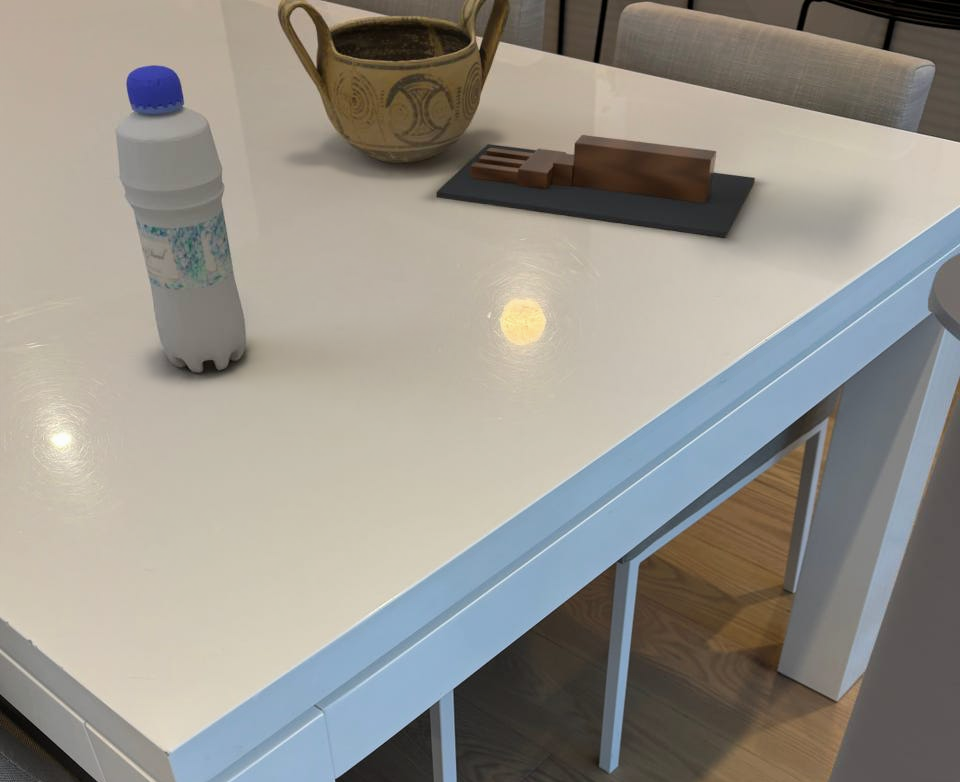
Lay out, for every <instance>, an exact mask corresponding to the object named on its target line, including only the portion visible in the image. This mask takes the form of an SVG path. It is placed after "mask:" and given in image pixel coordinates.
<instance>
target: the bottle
mask: <svg viewBox="0 0 960 782" xmlns="http://www.w3.org/2000/svg"><path fill="white" fill-rule="evenodd" d="M125 84H126V92H127V97H128V101H129V104H130V107H131V110H132V112H131V113H129V114H128V115H127V116H125V117H123V119H121V120H120V121H119V122H117V124H116V127H115V140H116V149H117V158H118V172H119V180H120V182H121V184H122V187H123V189H124V199H125V200H126V202H127V203H128V204H129V205H130V207H131V209H132V210H133V214H134V220H135V223H136V228H137V232H138V237H139V241H140V246H141V249H142V255H143V259H144V264H145V269H146V272H147V276H148V280H149V284H150V290H151V297H152V304H153V311H154V316H155V322H156V328H157V333H158V337H159V340H160V344H161V346H162V349H163V351H164V353H165V355H166V358H168V360H169V361H170V362H171V364H173V365H174V366H175V367H178V368H185V367H186V366H187V367H188V368H189V370H190V371H191V372H193V373H197V374H199V373H202V372H203V371H204V365H203V364H204V363H203V362H205V361H213V363H214V366H215V369H216V370H218V371H222V370H224V369H226V368H227V367H228V365H229V363H230V360H231V361H238V360H240V359H241V358H242V356H243V354H244V352H245V349H246V344H247V343H246V342H247V341H246V340H247V339H246V338H247V337H246V336H247V334H246V331H247V329H246V321H245V315H244V310H243V307H242V302H241V298H240V295H239V294H240V293H239V290H238V286H237V282H236V278H235V273H234V268H233V267H234V266H233V260H232V254H231V248H230V242H229V236H228V230H227V224H226V219H225V213H224V207H223V202H222V200H223V195H224V193H225V184H224V182H223V165H222V163H221V160H220V156H219V154H218V153H219V152H218V149H217V147H216V144H215V140H214V136H213V134H212V130H211V126H210V123H209V120H208V119H207V117H206V116H204V115H203V114H202V113H200V112H198V111H195V110H192V109H191V108H188V107H185V100H184V93H183V87H182V83H181V80H180V78H179V76H178V74H177V73H176V71H175V70H173V69H172V68H170V67H167V66H164V65H153V64H152V65H145V66H141V67H137V68H135V69H133V70H131V72H129V73H128V75H127V77H126V83H125Z"/></svg>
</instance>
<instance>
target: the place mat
mask: <svg viewBox="0 0 960 782" xmlns="http://www.w3.org/2000/svg"><path fill="white" fill-rule="evenodd" d="M489 148H497V149H505V150H512V151H520V152H528V153H534V152H535V151H536V150H537V149H529V148H523V147H522V148H521V147H514V146H508V145H507V146H506V145H499V144H491V143H487V144H486V145H485V146H484V147H483V148H482V149H481V150H479V152H477V153H476V154H475V155H474V156H473V157H472V158H471V159H469V161H468V162H466V164H465V165H464V166H463V167H461V169H459V170H458V171H457V172H456V173H455V174H453V176H452V177H451V178H450V179H449V180H448V181H446V182H445V183H444V184H443V185H442V186H441V187H440V188H439V189H438V190H437V191H436V197H437V198H443V199H450V200H457V201H465V202H471V203H479V204H486V205H494V206H499V207H500V206H501V207H506V208H513V209H515V208H516V209H521V210H527V211H535V212H540V213H541V212H542V213H549V214H555V215H556V214H557V215H564V216H570V217H578V218H584V219H590V220H599V221H606V222H611V223H612V222H613V223H620V224H626V225H634V226H640V227H646V228H653V229H654V228H655V229H662V230H668V231H676V232H683V233H690V234H697V235H705V236H710V237H711V236H712V237H717V238H719V237H720V238H726V237H727V235H728V233H729V231H730V230H731V227H732V226H733V223H734V222H735V220H736V218H737V216H738V214H739V212H740V211H741V208H742V207H743V205H744V203H745V201H746V199H747V197H748V196H749V194H750V191H751V189H752V187H753V186H754V184H755V181H756V177H752V176H743V175H737V174H729V173H721V172H714V173H713V180H712V187H711V194H710V196H709V198H708V199H707V201H706V203H697V202H690V201H682V200H675V199H668V198H660V197H653V196H645V195H638V194H630V193H623V192H616V191H608V190H601V189H593V188H586V187H578V186H573V185H572V186H565V185H557V184H551V185H550V186H549V187H548V188H547V189H540V188H532V187H525V186H518V184H511V183H504V182H496V181H489V180H482V179H474V178H471V165H472V164H473V163H479V158H480V157H481V156H482V155H486V156H487V150H488V149H489Z"/></svg>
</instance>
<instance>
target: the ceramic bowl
mask: <svg viewBox="0 0 960 782" xmlns="http://www.w3.org/2000/svg"><path fill="white" fill-rule="evenodd" d="M486 1H487V0H464V2H463V5H462V7H461V11H460V15H459V20H458V23H457V22H454V21H450V20H447V19H442V18H437V17H426V16H423V15H388V16H370V17H364V18H363V17H362V18H356V19H350V20H347V21H344V22H341V23H336V24H334V25H332V26H331V25H330V26H329V25H328V24H327V21H325V19H324V16H322V14H321V13H320V12H319V10H317V9H316V7H315V6H314V5H312V4H311V3H310V2H308V1H306V0H280V2H279V4H278V7H277V17H278V21H279V24H280V27H281V29H282V31H283V33H284V35H285V37H286V39H287V40H288V42H289V44H290V45H291V47H292V49H293V51H294V53H295V54H296V56H297V58H298V60H299V62H300V63H301V65H302V67H303V68H304V70H305V72H306V73H307V75H308V76H309V78H310V80H311V81H312V82H313V84H314V85H315V87H316V89H317V91H318V93H319V95H320V96H319V97H320V99H321V101H322V104H323V108H324V110H325V113H326V116H327V118H328V120H329V121H330V123H331V125H332V126H333V128H334V129H335V131H336V132H337V134H339V135H340V136H341V138H342V139H343V140H344V141H345V142H346V143H347V144H348V145H350V146H351V147H352V148H353V149H356V150H357V151H359V152H360V153H362V154H363V155H366V156H369V157H370V158H373V159H376V160H379V161H382V162H386V163H392V164H411V163H417V162H422V161H424V160H428V159H431V158H433V157H435V156H437V155H439V154H441V153H443V152H444V151H446V150H448V149H449V148H450V147H452V146H453V145H454V144H455V143H457V141H459V140H460V139H461V137H463V135H464V134H465V132H466V131H467V129H469V126H470V125H471V124H472V121H473V119H474V117H475V116H476V115H475V114H476V113H477V110H478V108H479V106H480V101H481V95H482V92H483V89H484V86H485V84H486V81H487V78H488V77H489V73H490V70H491V68H492V65H493V63H494V59H495V56H496V54H497V50H498V47H499V45H500V42H501V39H502V36H503V33H504V30H505V28H506V25H507V22H508V19H509V15H510V11H511V3H510V0H493V3H492V7H491V10H490V14H489V17H488V19H487V23H486V25H485V29H484V32H483V36H482V39H481V42H480V46H479V45H478V43H477V41H478V40H477V36H476V35H477V34H476V33H477V31H476V28H477V27H476V26H477V25H476V23H477V22H476V20H477V17H478V14H479V12H480V10H481V8H482V7H483V5H484V4H485V2H486ZM298 8H301V9H303V10H304V11H305V12H306V13H307V15H308V16H309V17H310V19H311V20H312V23H313V24H314V26H315V27H314V28H315V29H316V37H317V38H316V40H317V49H316V61H315V63H316V65H315V63H314V62H313V59H312V58H311V56H310V54H309V53H308V51H307V49H306V48H305V46H304V44H303V42H302V41H301V39H300V38H299V36H298V35H297V32H296V31H295V29H294V27H293V24H292V22H291V15H292V13H293V12H294V11H295V10H296V9H298Z"/></svg>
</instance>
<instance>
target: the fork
mask: <svg viewBox="0 0 960 782" xmlns="http://www.w3.org/2000/svg"><path fill="white" fill-rule="evenodd" d="M535 150H536V151H535V152H534V153H528V152H520V151H512V150H505V149H497V148H489V149H488V150H487V156H486V155H482V156H481V157H480V158H479V163H473V164H472V165H471V178H474V179H482V180H489V181H496V182H504V183H511V184H518V186H525V187H532V188H540V189H547V188H548V187H549V186H550V185H551V184H557V185H565V186H572V185H573V186H578V187H586V188H593V189H601V190H608V191H616V192H623V193H630V194H638V195H645V196H653V197H660V198H668V199H675V200H682V201H690V202H697V203H706V201H707V199H708V198H709V196H710V194H711V187H712V180H713V173H715V166H716V159H717V150H712V149H702V148H693V147H687V146H677V145H669V144H661V143H654V142H653V143H652V142H644V141H636V140H629V139H621V138H611V137H604V136H597V135H596V136H595V135H587V134H582V135H580V137H578V139H577V140H576V141H575V142H574V150H573V154H570V153H567V152H566V151H562V150H561V151H560V150H552V149H545V148H537V149H535Z"/></svg>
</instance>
